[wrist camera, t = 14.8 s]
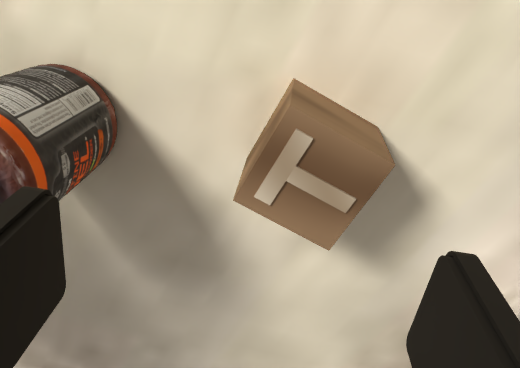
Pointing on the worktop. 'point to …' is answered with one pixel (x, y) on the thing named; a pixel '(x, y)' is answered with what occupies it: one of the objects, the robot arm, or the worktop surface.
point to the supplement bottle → (52, 129)
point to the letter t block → (313, 166)
